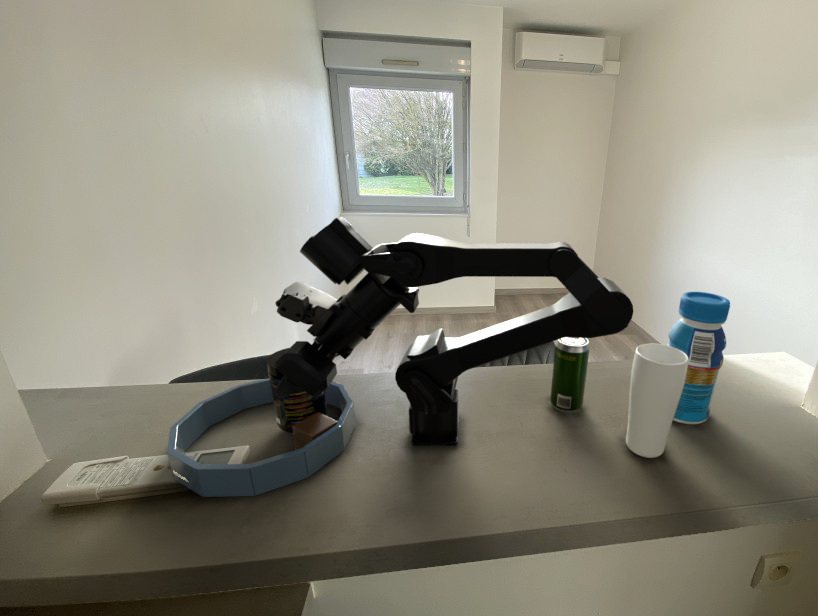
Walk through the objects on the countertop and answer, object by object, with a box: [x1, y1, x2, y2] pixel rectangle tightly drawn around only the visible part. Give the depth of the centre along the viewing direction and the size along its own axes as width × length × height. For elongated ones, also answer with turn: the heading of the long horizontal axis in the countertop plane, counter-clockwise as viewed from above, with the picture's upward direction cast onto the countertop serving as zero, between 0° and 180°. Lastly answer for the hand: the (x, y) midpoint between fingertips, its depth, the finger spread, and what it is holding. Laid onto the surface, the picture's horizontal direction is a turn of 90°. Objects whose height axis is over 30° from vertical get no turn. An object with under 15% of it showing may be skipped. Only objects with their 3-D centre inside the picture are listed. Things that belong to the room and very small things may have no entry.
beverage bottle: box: [666, 291, 731, 425], centre depth 64 cm, size 8×8×20 cm
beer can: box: [549, 337, 590, 414], centre depth 66 cm, size 5×5×12 cm
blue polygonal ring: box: [166, 378, 356, 498], centre depth 57 cm, size 22×22×4 cm
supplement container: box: [265, 347, 328, 434], centre depth 57 cm, size 7×7×10 cm
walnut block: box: [292, 412, 338, 450], centre depth 55 cm, size 4×4×4 cm
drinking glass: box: [625, 342, 689, 459], centre depth 56 cm, size 7×7×15 cm
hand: (289, 380), depth 57 cm, fingers closed on supplement container, 7 cm apart
